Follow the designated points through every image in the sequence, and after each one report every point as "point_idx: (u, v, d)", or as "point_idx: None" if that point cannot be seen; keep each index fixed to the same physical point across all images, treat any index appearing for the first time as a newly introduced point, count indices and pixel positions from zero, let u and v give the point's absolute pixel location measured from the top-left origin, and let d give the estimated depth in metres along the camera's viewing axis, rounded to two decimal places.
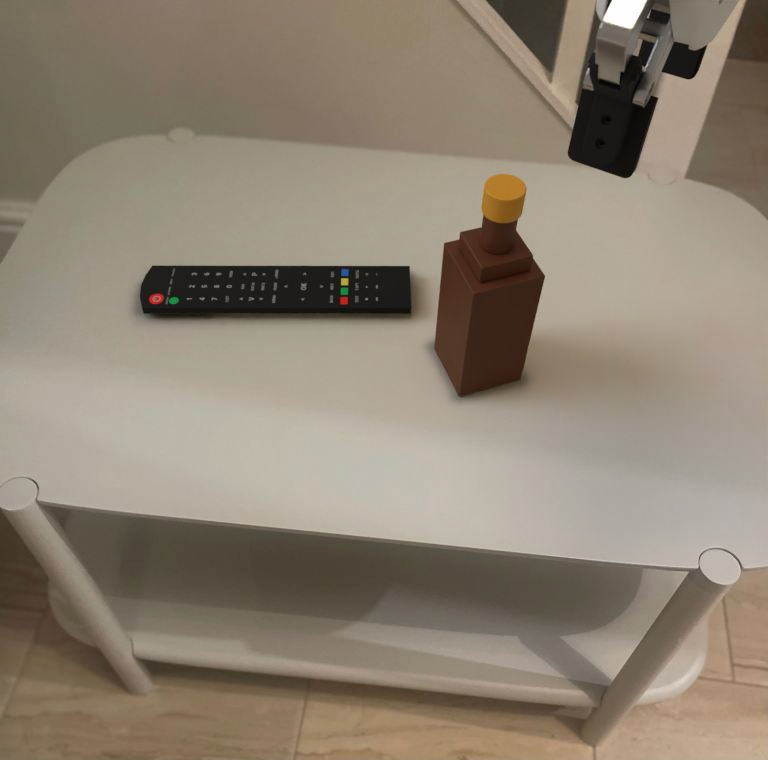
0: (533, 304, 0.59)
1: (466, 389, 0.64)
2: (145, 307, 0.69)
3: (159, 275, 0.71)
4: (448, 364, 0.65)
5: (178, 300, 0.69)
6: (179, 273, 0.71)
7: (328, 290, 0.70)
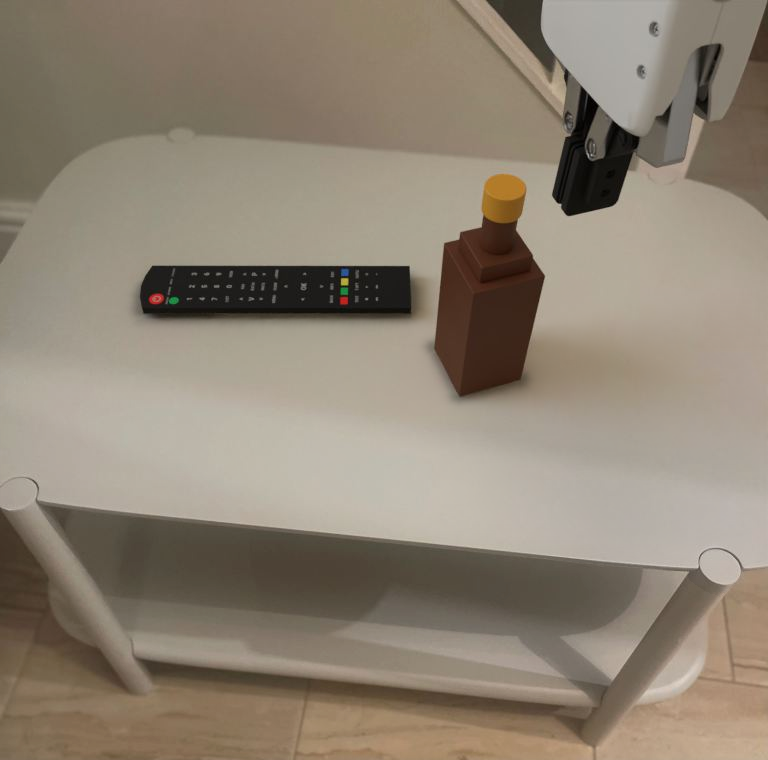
0: (533, 304, 0.59)
1: (466, 389, 0.64)
2: (145, 307, 0.69)
3: (159, 275, 0.71)
4: (448, 364, 0.65)
5: (178, 300, 0.69)
6: (179, 273, 0.71)
7: (328, 290, 0.70)
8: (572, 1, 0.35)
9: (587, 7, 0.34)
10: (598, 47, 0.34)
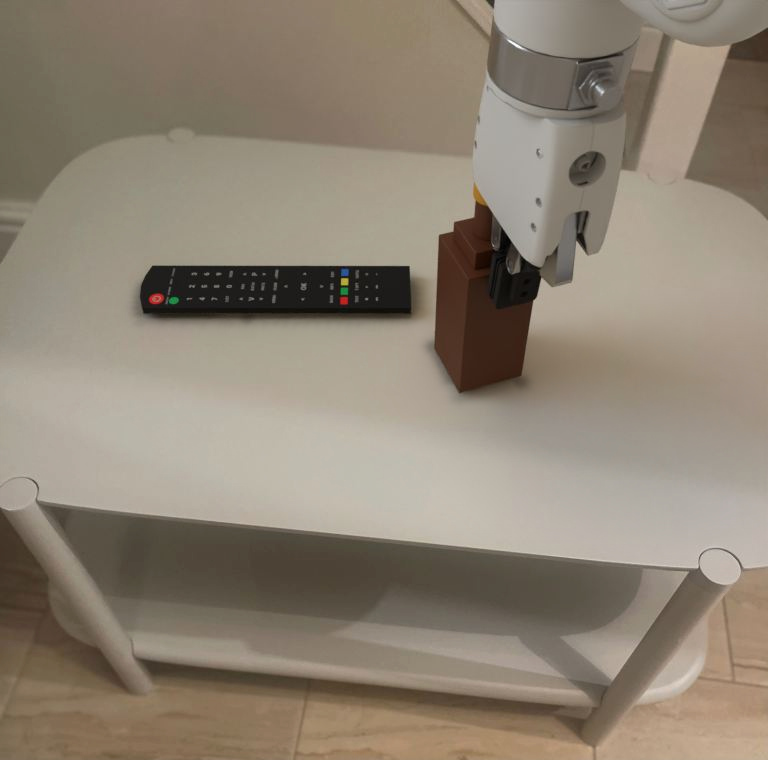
0: None
1: (466, 385, 0.64)
2: (145, 307, 0.69)
3: (159, 275, 0.71)
4: (448, 361, 0.65)
5: (178, 300, 0.69)
6: (179, 273, 0.71)
7: (328, 290, 0.70)
8: (489, 167, 0.48)
9: (498, 175, 0.47)
10: (507, 203, 0.47)
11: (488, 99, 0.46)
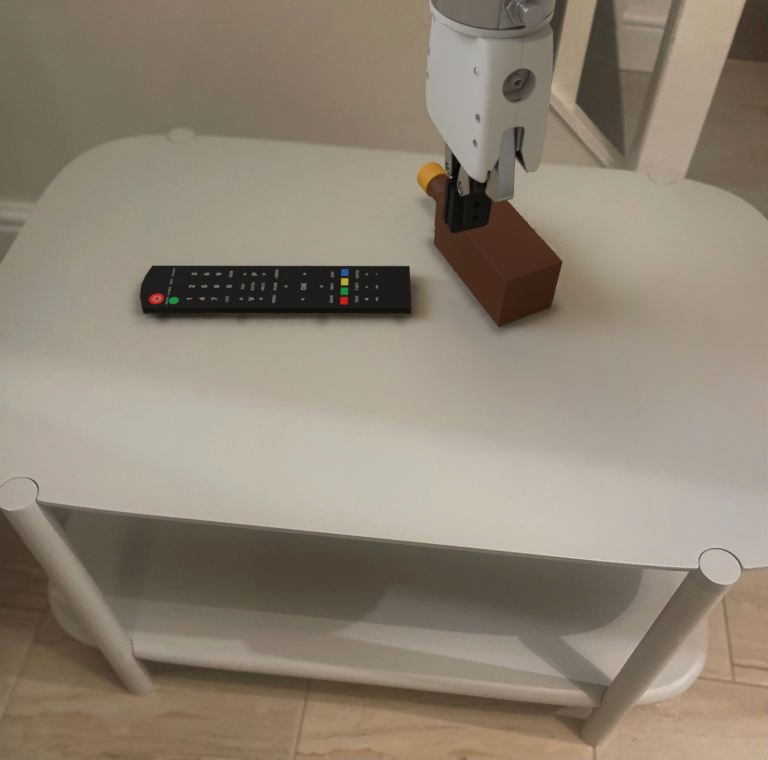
0: None
1: None
2: (145, 307, 0.69)
3: (159, 275, 0.71)
4: (530, 260, 0.67)
5: (178, 300, 0.69)
6: (179, 273, 0.71)
7: (328, 290, 0.70)
8: (438, 93, 0.53)
9: (445, 99, 0.52)
10: (453, 125, 0.52)
11: (435, 29, 0.51)
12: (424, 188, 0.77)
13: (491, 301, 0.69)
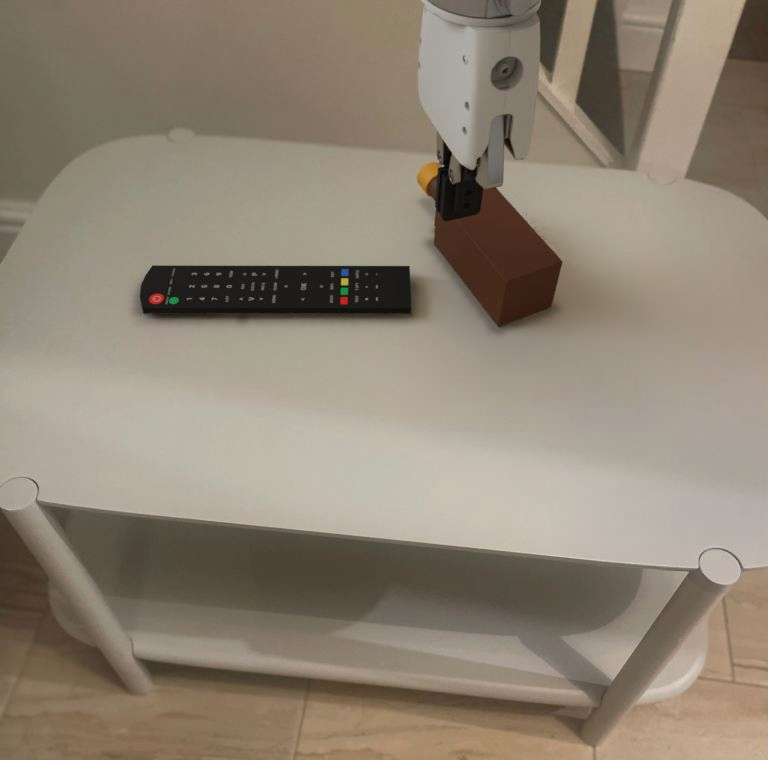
0: None
1: None
2: (145, 307, 0.69)
3: (159, 275, 0.71)
4: (530, 260, 0.67)
5: (178, 300, 0.69)
6: (179, 273, 0.71)
7: (328, 290, 0.70)
8: (429, 82, 0.54)
9: (436, 88, 0.53)
10: (444, 113, 0.53)
11: (426, 19, 0.52)
12: (424, 188, 0.77)
13: (491, 301, 0.69)
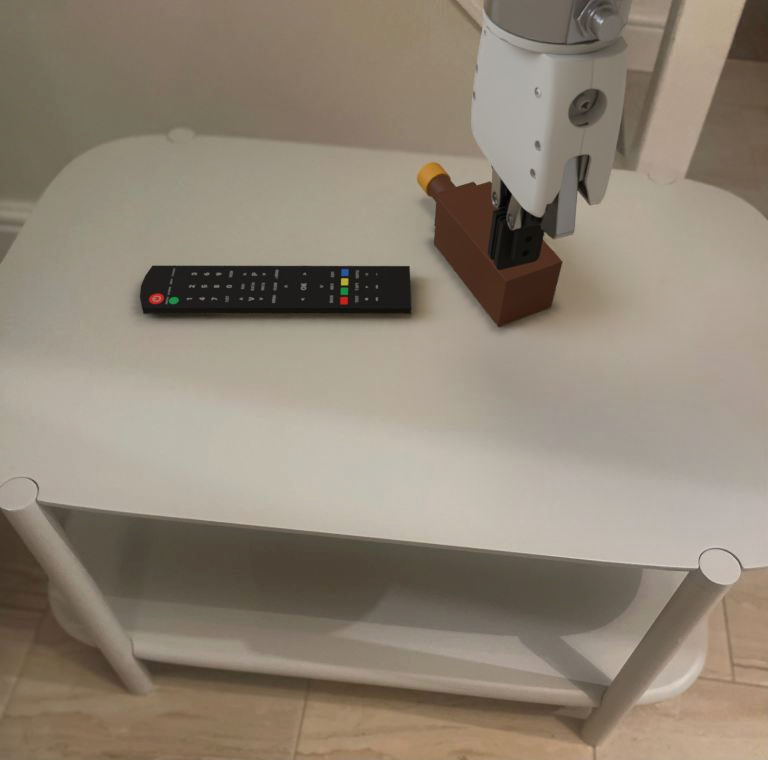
0: None
1: None
2: (145, 307, 0.69)
3: (159, 275, 0.71)
4: None
5: (178, 300, 0.69)
6: (179, 273, 0.71)
7: (328, 290, 0.70)
8: (488, 116, 0.47)
9: (497, 122, 0.46)
10: (506, 152, 0.46)
11: (486, 44, 0.45)
12: (424, 188, 0.77)
13: (491, 301, 0.69)
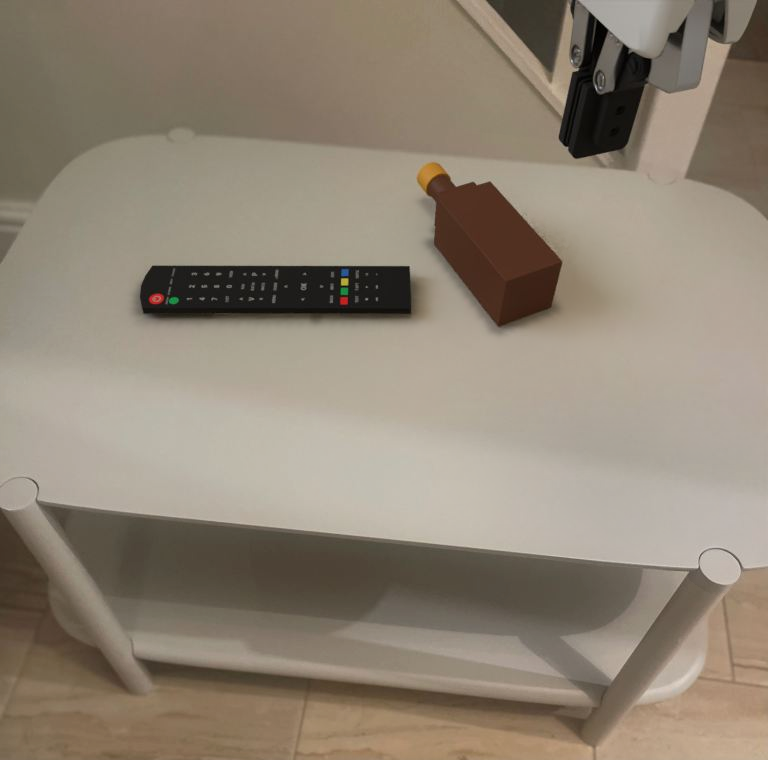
0: None
1: None
2: (145, 307, 0.69)
3: (159, 275, 0.71)
4: (530, 260, 0.67)
5: (178, 300, 0.69)
6: (179, 273, 0.71)
7: (328, 290, 0.70)
8: None
9: None
10: None
11: None
12: (424, 188, 0.77)
13: (491, 301, 0.69)
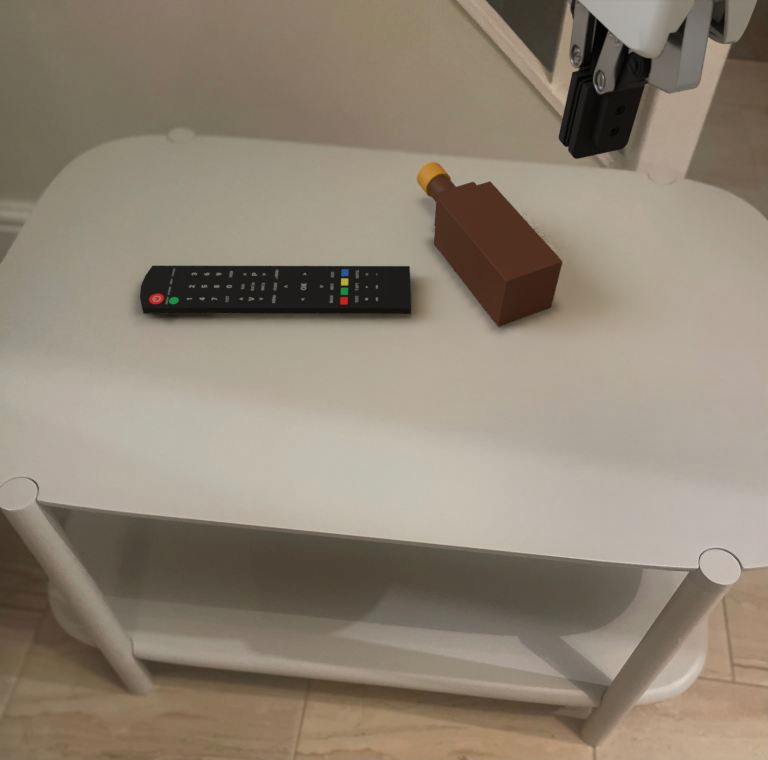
0: None
1: None
2: (145, 307, 0.69)
3: (159, 275, 0.71)
4: (530, 260, 0.67)
5: (178, 300, 0.69)
6: (179, 273, 0.71)
7: (328, 290, 0.70)
8: None
9: None
10: None
11: None
12: (424, 188, 0.77)
13: (491, 301, 0.69)
